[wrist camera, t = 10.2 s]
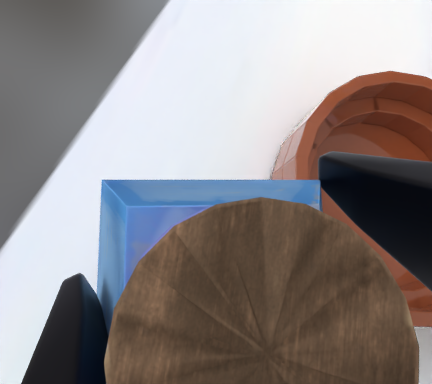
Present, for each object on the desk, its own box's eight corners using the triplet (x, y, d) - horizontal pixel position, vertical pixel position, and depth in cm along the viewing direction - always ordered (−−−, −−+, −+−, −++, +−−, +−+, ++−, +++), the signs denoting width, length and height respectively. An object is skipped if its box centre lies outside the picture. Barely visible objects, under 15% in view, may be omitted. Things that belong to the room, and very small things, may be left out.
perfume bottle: (134, 210, 15) (-28, 59, 4) (269, 209, 16) (501, 75, 4) (131, 356, 14) (-123, 821, 3) (276, 350, 15) (623, 709, 3)
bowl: (502, 236, 26) (571, 230, 22) (356, 365, 22) (406, 389, 18) (384, 72, 28) (427, 36, 23) (226, 165, 23) (243, 141, 19)
